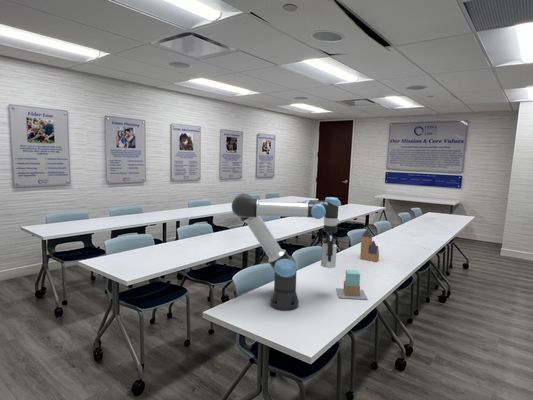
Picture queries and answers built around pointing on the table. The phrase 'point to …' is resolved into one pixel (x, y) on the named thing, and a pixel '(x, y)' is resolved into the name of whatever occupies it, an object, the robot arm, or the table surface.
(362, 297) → the tower base
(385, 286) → the table surface
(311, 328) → the table surface
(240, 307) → the table surface
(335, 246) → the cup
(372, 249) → the toy building blocks
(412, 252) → the table surface
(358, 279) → the teal cube
